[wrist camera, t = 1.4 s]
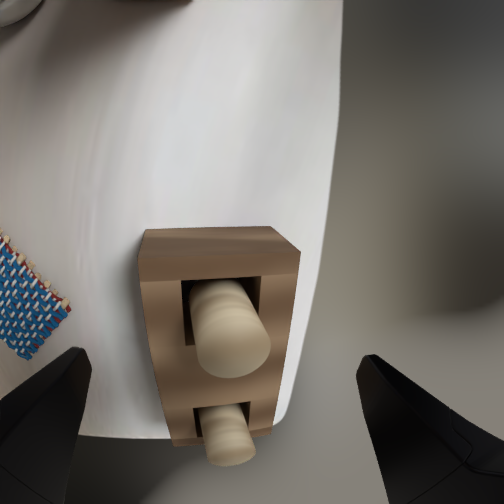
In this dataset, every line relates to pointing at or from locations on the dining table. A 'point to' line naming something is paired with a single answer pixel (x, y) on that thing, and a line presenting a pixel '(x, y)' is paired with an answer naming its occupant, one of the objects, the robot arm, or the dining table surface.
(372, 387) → the robot arm
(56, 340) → the dining table surface
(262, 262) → the socket block
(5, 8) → the plastic bottle
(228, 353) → the dowel near
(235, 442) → the dowel far
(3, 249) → the woven mat
